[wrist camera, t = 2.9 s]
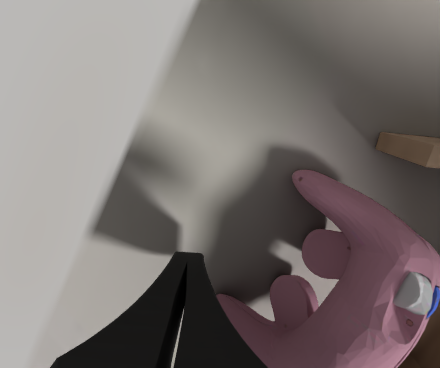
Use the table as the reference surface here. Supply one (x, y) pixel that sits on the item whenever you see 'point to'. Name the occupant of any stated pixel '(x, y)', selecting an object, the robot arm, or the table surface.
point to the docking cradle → (436, 327)
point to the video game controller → (346, 288)
